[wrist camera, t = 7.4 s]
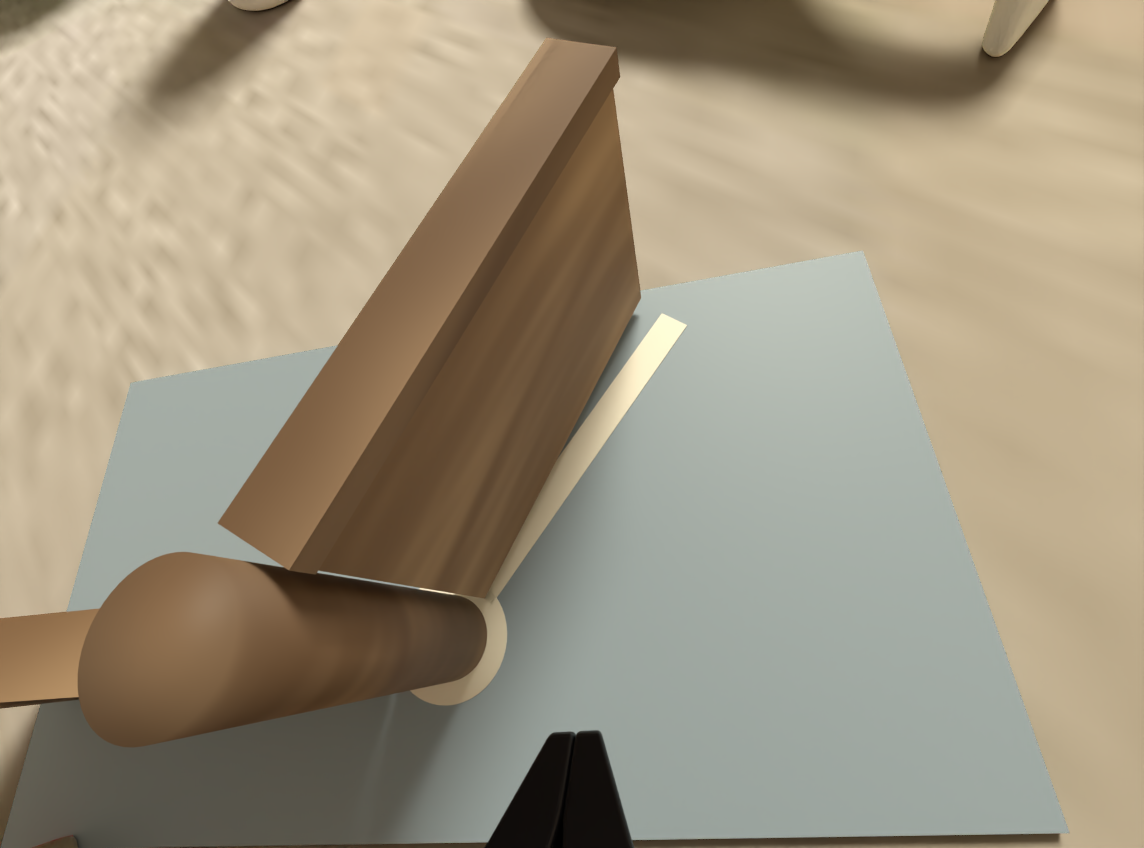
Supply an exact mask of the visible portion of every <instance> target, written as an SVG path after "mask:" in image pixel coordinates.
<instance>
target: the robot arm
mask: <svg viewBox="0 0 1144 848" xmlns="http://www.w3.org/2000/svg"><path fill="white" fill-rule="evenodd" d="M485 848H634V846H633V842H632V839H631V835H630V831H629V828H628V824H627V821H626V817H625V814H624V810H623V807H622V803H621V799H620V796H619V792H618V789H617V785H616V782H615V778H614V775H613V771H612V767H611V764H610V760H609V757H608V753H607V750H606V746H605V743H604V739H603V736H602V733H601V732H600V731H599V730H588V731H579V732H578V733H577V734H575V733H574V732H572V731H568V732H553V733H552V734H550V735H549V736H548V738H547V739H546V741H545V743H544V745H543V746H542V748H541V750H540V752H539V753H538V755H537V757H536V759H535V760H534V762H533V764H532V766H531V767H530V769H529V771H528V773H527V774H526V776H525V778H524V780H523V781H522V783H521V785H520V787H519V788H518V790H517V792H516V794H515V795H514V797H513V799H512V801H511V802H510V804H509V806H508V808H507V809H506V811H505V813H504V815H503V816H502V818H501V820H500V822H499V823H498V825H497V827H496V829H495V830H494V832H493V834H492V836H491V837H490V839H489V841H488V843H487V844H486V846H485Z"/></svg>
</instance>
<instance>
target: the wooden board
mask: <svg viewBox="0 0 1144 848" xmlns="http://www.w3.org/2000/svg"><path fill="white" fill-rule="evenodd" d="M619 78H620V72H619V64H618V55H617V47H611V46H604V45H596V44H589V43H581V42H574V41H567V40H559V39H552V38H546V39H545V41H544V42H543V44H542V45H541V47H540V48H539V49H538V51H537V52H536V54H535V55H534V57H533V58H532V60H531V61H530V63H529V64H528V66H527V67H526V69H525V70H524V72H523V73H522V75H521V76H520V77H519V79H518V80H517V82H516V83H515V85H514V86H513V88H512V89H511V91H510V92H509V94H508V95H507V97H506V98H505V100H504V101H503V103H502V104H501V105H500V107H499V108H498V110H497V111H496V113H495V114H494V116H493V117H492V119H491V120H490V122H489V123H488V125H487V126H486V128H485V129H484V131H483V132H482V134H481V135H480V136H479V138H478V139H477V141H476V142H475V144H474V145H473V147H472V148H471V150H470V151H469V153H468V154H467V156H466V157H465V159H464V160H463V162H462V163H461V164H460V166H459V167H458V169H457V170H456V172H455V173H454V175H453V176H452V178H451V179H450V181H449V182H448V184H447V185H446V187H445V188H444V190H443V191H442V193H441V194H440V195H439V197H438V198H437V200H436V201H435V203H434V204H433V206H432V207H431V209H430V210H429V212H428V213H427V215H426V216H425V218H424V219H423V221H422V222H421V223H420V225H419V226H418V228H417V229H416V231H415V232H414V234H413V235H412V237H411V238H410V240H409V241H408V243H407V244H406V246H405V247H404V249H403V250H402V252H401V253H400V254H399V256H398V257H397V259H396V260H395V262H394V263H393V265H392V266H391V268H390V269H389V271H388V272H387V274H386V275H385V277H384V278H383V280H382V281H381V282H380V284H379V285H378V287H377V288H376V290H375V291H374V293H373V294H372V296H371V297H370V299H369V300H368V302H367V303H366V305H365V306H364V308H363V309H362V311H361V312H360V313H359V315H358V316H357V318H356V319H355V321H354V322H353V324H352V325H351V327H350V328H349V330H348V331H347V333H346V334H345V336H344V337H343V339H342V340H341V341H340V343H339V344H338V346H337V347H336V349H335V350H334V352H333V353H332V355H331V356H330V358H329V359H328V361H327V362H326V364H325V365H324V367H323V368H322V370H321V371H320V372H319V374H318V375H317V377H316V378H315V380H314V381H313V383H312V384H311V386H310V387H309V389H308V390H307V392H306V393H305V395H304V396H303V398H302V399H301V400H300V402H299V403H298V405H297V406H296V408H295V409H294V411H293V412H292V414H291V415H290V417H289V418H288V420H287V421H286V423H285V424H284V426H283V427H282V428H281V430H280V431H279V433H278V434H277V436H276V437H275V439H274V440H273V442H272V443H271V445H270V446H269V448H268V449H267V451H266V452H265V454H264V455H263V457H262V458H261V459H260V461H259V462H258V464H257V465H256V467H255V468H254V470H253V471H252V473H251V474H250V476H249V477H248V479H247V480H246V482H245V483H244V485H243V486H242V487H241V489H240V490H239V492H238V493H237V495H236V496H235V498H234V499H233V501H232V502H231V504H230V505H229V507H228V508H227V510H226V511H225V513H224V514H223V516H222V517H221V518H220V520H219V521H218V524H219V525H221V526H222V527H224V528H225V529H227V530H228V531H230V532H231V533H233V534H234V535H236V536H237V537H239V538H240V539H242V540H243V541H245V542H247V543H248V544H250V545H251V546H253V547H254V548H256V549H257V550H259V551H260V552H262V553H263V554H265V555H266V556H268V557H269V558H271V559H272V560H274V561H275V562H277V563H279V564H280V565H282V566H283V567H285V568H286V569H288V570H290V571H296V572H303V573H309V574H315V575H316V573H317V572H318V571H323V572H329V573H335V574H341V575H347V576H353V577H359V578H365V579H371V580H377V581H383V582H389V583H395V584H401V585H407V586H413V587H419V588H425V589H430V590H436V591H442V592H448V593H454V594H460V595H466V596H472V597H478V598H484V599H485V597H486V595H487V593H488V591H489V589H490V587H491V585H492V583H493V581H494V580H495V578H496V576H497V574H498V572H499V570H500V568H501V566H502V564H503V562H504V560H505V558H506V556H507V555H508V553H509V551H510V549H511V547H512V545H513V543H514V541H515V539H516V537H517V535H518V533H519V532H520V530H521V528H522V526H523V524H524V522H525V520H526V518H527V516H528V514H529V512H530V510H531V508H532V507H533V505H534V503H535V501H536V499H537V497H538V495H539V493H540V491H541V489H542V487H543V485H544V484H545V482H546V480H547V478H548V476H549V474H550V472H551V470H552V468H553V466H554V464H555V462H556V460H557V459H558V457H559V455H560V453H561V451H562V449H563V447H564V445H565V443H566V441H567V439H568V437H569V436H570V434H571V432H572V430H573V428H574V426H575V424H576V422H577V420H578V418H579V416H580V414H581V412H582V411H583V409H584V407H585V405H586V403H587V401H588V399H589V397H590V395H591V393H592V391H593V389H594V388H595V386H596V384H597V382H598V380H599V378H600V376H601V374H602V372H603V370H604V368H605V366H606V364H607V363H608V361H609V359H610V357H611V355H612V353H613V351H614V349H615V347H616V345H617V343H618V341H619V340H620V338H621V336H622V334H623V332H624V330H625V328H626V326H627V324H628V322H629V320H630V318H631V316H632V315H633V313H634V311H635V309H636V307H637V305H638V303H639V301H640V299H641V292H640V284H639V277H638V270H637V262H636V255H635V247H634V240H633V233H632V225H631V218H630V210H629V203H628V195H627V188H626V181H625V173H624V166H623V158H622V151H621V143H620V136H619V129H618V121H617V114H616V106H615V99H614V91H613V88H614V86H615V84H616V83H617V81H618V80H619Z"/></svg>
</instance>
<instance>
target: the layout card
mask: <svg viewBox="0 0 1144 848" xmlns="http://www.w3.org/2000/svg"><path fill="white" fill-rule="evenodd" d="M640 292H641V299H640V301H639V303H638V305H637V307H636V309H635V311H634V313H633V315H632V316H631V318H630V320H629V322H628V324H627V326H626V328H625V330H624V332H623V334H622V336H621V338H620V340H619V341H618V343H617V345H616V347H615V349H614V351H613V353H612V355H611V357H610V359H609V361H608V363H607V364H606V366H605V368H604V370H603V372H602V374H601V376H600V378H599V380H598V382H597V384H596V386H595V388H594V389H593V391H592V393H591V395H590V397H589V399H588V401H587V403H586V405H585V407H584V409H583V411H582V412H581V414H580V416H579V418H578V420H577V422H576V424H575V426H574V428H573V430H572V432H571V434H570V436H569V437H568V439H567V441H566V443H565V445H564V447H563V449H562V451H561V453H560V455H559V457H558V459H557V460H556V462H555V464H554V466H553V468H552V470H551V472H550V474H549V476H548V478H547V480H546V482H545V484H544V485H543V487H542V489H541V491H540V493H539V495H538V497H537V499H536V501H535V503H534V505H533V507H532V508H531V510H530V512H529V514H528V516H527V518H526V520H525V522H524V524H523V526H522V528H521V530H520V532H519V533H518V535H517V537H516V539H515V541H514V543H513V545H512V547H511V549H510V551H509V553H508V555H507V556H506V558H505V560H504V562H503V564H502V566H501V568H500V570H499V572H498V574H497V576H496V578H495V580H494V581H493V583H492V585H491V587H490V589H489V591H488V593H487V595H486V597H485V599H484V598H478V597H472V596H466V595H460V594H454V593H448V592H442V591H436V590H430V589H425V588H419V587H413V586H407V585H401V584H395V583H389V582H383V581H377V580H371V579H365V578H359V577H353V576H347V575H341V574H335V573H329V572H323V571H318V572H317V573H322V574H328V575H334V576H340V577H347V578H353V579H359V580H365V581H371V582H378V583H384V584H390V585H396V586H402V587H408V588H415V589H421V590H427V591H433V592H439V593H446V594H452V595H458V596H462V597H465V598H467V599H469V600H470V601H472V602H473V603H474V604H475V605H476V606H477V607H478V608H479V609H480V611H481V612H482V614H483V616H484V619H485V622H486V627H487V643H486V648H485V651H484V654H483V656H482V658H481V660H480V662H479V663H478V665H477V666H476V667H475V668H474V669H473V671H471V672H470V673H469V674H468V675H466V676H465V677H463V678H461V679H459V680H456V681H453V682H448V683H443V684H438V685H434V686H429V687H424V688H419V689H414V690H410V691H405V692H400V693H395V694H391V695H386V696H381V697H376V698H372V699H367V700H362V701H357V702H353V703H348V704H343V705H338V706H333V707H329V708H324V709H319V710H314V711H310V712H305V713H300V714H295V715H291V716H286V717H281V718H276V719H271V720H267V721H262V722H257V723H252V724H248V725H243V726H238V727H233V728H229V729H224V730H219V731H214V732H209V733H205V734H200V735H195V736H190V737H186V738H181V739H176V740H171V741H167V742H162V743H157V744H152V745H147V746H142V747H134V748H133V747H121V746H117V745H113V744H111V743H109V742H107V741H105V740H104V739H102V738H101V737H99V736H98V735H97V734H96V733H95V732H94V731H93V730H92V728H91V727H90V726H89V724H88V722H87V721H86V719H85V717H84V714H83V712H82V709H81V705H80V701H79V699H78V700H72V701H63V702H54V703H45V704H41V705H40V708H39V712H38V715H37V719H36V723H35V726H34V730H33V733H32V737H31V740H30V744H29V748H28V751H27V755H26V758H25V762H24V765H23V769H22V772H21V776H20V780H19V783H18V787H17V790H16V794H15V797H14V801H13V805H12V808H11V812H10V815H9V819H8V822H7V826H6V830H5V833H4V837H3V840H2V844H1V847H0V848H32V847H35V846H38V845H41V844H44V843H46V842H49V841H52V840H55V839H58V838H61V837H65V836H70V835H73V836H74V838H75V839H76V840H77V845H78V848H153V847H217V846H281V845H345V844H410V843H474V842H488V841H489V839H490V837H491V836H492V834H493V832H494V830H495V829H496V827H497V825H498V823H499V822H500V820H501V818H502V816H503V815H504V813H505V811H506V809H507V808H508V806H509V804H510V802H511V801H512V799H513V797H514V795H515V794H516V792H517V790H518V788H519V787H520V785H521V783H522V781H523V780H524V778H525V776H526V774H527V773H528V771H529V769H530V767H531V766H532V764H533V762H534V760H535V759H536V757H537V755H538V753H539V752H540V750H541V748H542V746H543V745H544V743H545V741H546V739H547V738H548V736H549V735H550V734H552V733H553V732H568V731H572V732H574V733H575V734H577V733H578V732H579V731H588V730H599V731H600V732H601V733H602V736H603V739H604V743H605V746H606V750H607V753H608V757H609V760H610V764H611V767H612V771H613V775H614V778H615V782H616V785H617V789H618V792H619V796H620V799H621V803H622V807H623V810H624V814H625V817H626V821H627V824H628V828H629V831H630V835H631V839H632V840H666V839H730V838H794V837H859V836H923V835H987V834H1051V833H1069V830H1068V827H1067V824H1066V821H1065V819H1064V816H1063V813H1062V810H1061V807H1060V805H1059V802H1058V799H1057V796H1056V793H1055V790H1054V788H1053V785H1052V782H1051V779H1050V776H1049V774H1048V771H1047V768H1046V765H1045V762H1044V759H1043V757H1042V754H1041V751H1040V748H1039V745H1038V743H1037V740H1036V737H1035V734H1034V731H1033V729H1032V726H1031V723H1030V720H1029V717H1028V714H1027V712H1026V709H1025V706H1024V703H1023V700H1022V698H1021V695H1020V692H1019V689H1018V686H1017V683H1016V681H1015V678H1014V675H1013V672H1012V669H1011V667H1010V664H1009V661H1008V658H1007V655H1006V652H1005V650H1004V647H1003V644H1002V641H1001V638H1000V636H999V633H998V630H997V627H996V624H995V621H994V619H993V616H992V613H991V610H990V607H989V605H988V602H987V599H986V596H985V593H984V591H983V588H982V585H981V582H980V579H979V576H978V574H977V571H976V568H975V565H974V562H973V560H972V557H971V554H970V551H969V548H968V545H967V543H966V540H965V537H964V534H963V531H962V529H961V526H960V523H959V520H958V517H957V514H956V512H955V509H954V506H953V503H952V500H951V498H950V495H949V492H948V489H947V486H946V483H945V481H944V478H943V475H942V472H941V469H940V467H939V464H938V461H937V458H936V455H935V453H934V450H933V447H932V444H931V441H930V438H929V436H928V433H927V430H926V427H925V424H924V422H923V419H922V416H921V413H920V410H919V407H918V405H917V402H916V399H915V396H914V393H913V391H912V388H911V385H910V382H909V379H908V376H907V374H906V371H905V368H904V365H903V362H902V360H901V357H900V354H899V351H898V348H897V345H896V343H895V340H894V337H893V334H892V331H891V329H890V326H889V323H888V320H887V317H886V315H885V312H884V309H883V306H882V303H881V300H880V298H879V295H878V292H877V289H876V286H875V284H874V281H873V278H872V275H871V272H870V269H869V267H868V264H867V261H866V258H865V255H864V253H863V251H858V252H852V253H847V254H841V255H836V256H830V257H825V258H819V259H814V260H808V261H802V262H797V263H791V264H786V265H780V266H775V267H769V268H764V269H758V270H753V271H747V272H742V273H736V274H730V275H725V276H719V277H714V278H708V279H703V280H697V281H692V282H686V283H681V284H675V285H670V286H664V287H659V288H653V289H647V290H642V291H640ZM337 346H338V345H337ZM337 346H332V347H326V348H321V349H315V350H310V351H304V352H299V353H293V354H288V355H282V356H276V357H271V358H265V359H260V360H254V361H249V362H243V363H238V364H232V365H227V366H221V367H216V368H210V369H205V370H199V371H193V372H188V373H182V374H177V375H171V376H166V377H160V378H155V379H149V380H144V381H138V382H133V383H131V384H130V388H129V391H128V395H127V398H126V402H125V405H124V409H123V412H122V416H121V420H120V423H119V427H118V430H117V434H116V437H115V441H114V445H113V448H112V452H111V455H110V459H109V462H108V466H107V470H106V473H105V477H104V480H103V484H102V487H101V491H100V494H99V498H98V502H97V505H96V509H95V512H94V516H93V519H92V523H91V527H90V530H89V534H88V537H87V541H86V544H85V548H84V551H83V555H82V559H81V562H80V566H79V569H78V573H77V576H76V580H75V584H74V587H73V591H72V594H71V598H70V601H69V605H68V609H67V612H69V611H79V610H89V609H99V608H100V607H101V606H102V604H103V603H104V601H105V600H106V599H107V597H108V596H109V595H110V593H111V592H112V591H113V590H114V589H115V588H116V586H117V585H118V584H119V583H120V582H121V581H122V580H123V579H124V578H125V577H127V576H128V575H129V574H130V573H131V572H133V571H134V570H135V569H137V568H138V567H140V566H141V565H143V564H144V563H146V562H148V561H150V560H152V559H154V558H156V557H159V556H162V555H165V554H169V553H174V552H192V553H198V554H205V555H211V556H217V557H223V558H229V559H235V560H242V561H248V562H254V563H260V564H266V565H273V566H279V567H283V566H282V565H280V564H279V563H277V562H275V561H274V560H272V559H271V558H269V557H268V556H266V555H265V554H263V553H262V552H260V551H259V550H257V549H256V548H254V547H253V546H251V545H250V544H248V543H247V542H245V541H243V540H242V539H240V538H239V537H237V536H236V535H234V534H233V533H231V532H230V531H228V530H227V529H225V528H224V527H222V526H221V525H219V524H218V521H219V520H220V518H221V517H222V516H223V514H224V513H225V511H226V510H227V508H228V507H229V505H230V504H231V502H232V501H233V499H234V498H235V496H236V495H237V493H238V492H239V490H240V489H241V487H242V486H243V485H244V483H245V482H246V480H247V479H248V477H249V476H250V474H251V473H252V471H253V470H254V468H255V467H256V465H257V464H258V462H259V461H260V459H261V458H262V457H263V455H264V454H265V452H266V451H267V449H268V448H269V446H270V445H271V443H272V442H273V440H274V439H275V437H276V436H277V434H278V433H279V431H280V430H281V428H282V427H283V426H284V424H285V423H286V421H287V420H288V418H289V417H290V415H291V414H292V412H293V411H294V409H295V408H296V406H297V405H298V403H299V402H300V400H301V399H302V398H303V396H304V395H305V393H306V392H307V390H308V389H309V387H310V386H311V384H312V383H313V381H314V380H315V378H316V377H317V375H318V374H319V372H320V371H321V370H322V368H323V367H324V365H325V364H326V362H327V361H328V359H329V358H330V356H331V355H332V353H333V352H334V350H335V349H336V347H337Z"/></svg>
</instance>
